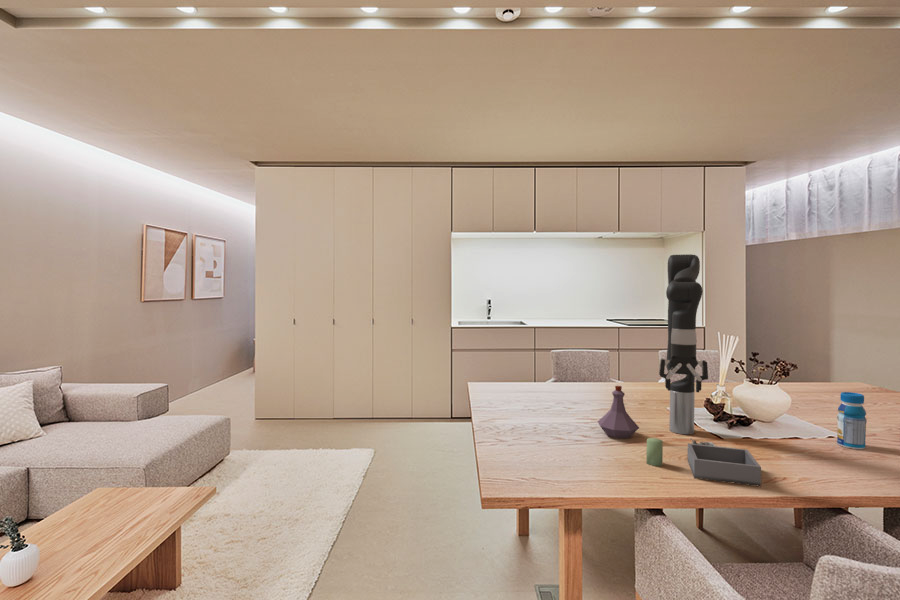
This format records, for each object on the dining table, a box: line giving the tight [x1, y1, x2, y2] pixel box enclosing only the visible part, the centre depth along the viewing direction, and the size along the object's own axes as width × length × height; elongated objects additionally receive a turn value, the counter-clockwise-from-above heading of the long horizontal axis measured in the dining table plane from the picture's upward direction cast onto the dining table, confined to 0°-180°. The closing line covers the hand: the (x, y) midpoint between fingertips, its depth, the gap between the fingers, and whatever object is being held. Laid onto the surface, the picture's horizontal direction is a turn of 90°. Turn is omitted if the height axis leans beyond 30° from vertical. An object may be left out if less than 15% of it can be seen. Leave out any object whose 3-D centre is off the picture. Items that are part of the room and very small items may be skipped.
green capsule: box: [646, 437, 664, 467], centre depth 159 cm, size 5×5×8 cm
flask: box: [597, 385, 640, 440], centre depth 189 cm, size 16×16×20 cm
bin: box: [687, 442, 762, 487], centre depth 151 cm, size 16×18×6 cm
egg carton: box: [690, 437, 717, 446], centre depth 169 cm, size 11×8×4 cm
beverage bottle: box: [836, 391, 867, 450], centre depth 175 cm, size 8×8×20 cm
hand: (682, 391), depth 154 cm, fingers open, 8 cm apart
